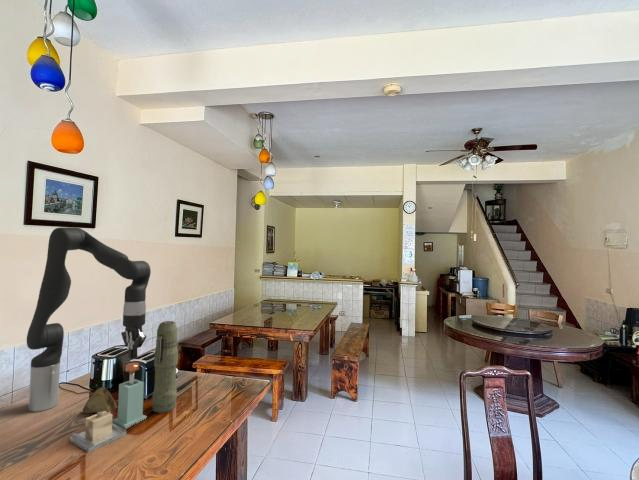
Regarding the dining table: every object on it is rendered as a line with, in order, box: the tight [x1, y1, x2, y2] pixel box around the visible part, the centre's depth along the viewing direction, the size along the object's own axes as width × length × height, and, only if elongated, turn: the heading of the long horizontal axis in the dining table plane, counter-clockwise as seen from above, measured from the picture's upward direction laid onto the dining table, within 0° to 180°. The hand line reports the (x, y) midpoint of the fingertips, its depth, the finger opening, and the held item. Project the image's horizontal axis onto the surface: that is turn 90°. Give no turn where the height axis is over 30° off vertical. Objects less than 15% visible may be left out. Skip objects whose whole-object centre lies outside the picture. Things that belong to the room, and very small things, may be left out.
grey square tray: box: [69, 422, 127, 453], centre depth 111 cm, size 12×12×2 cm
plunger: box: [125, 362, 140, 386], centre depth 123 cm, size 4×4×13 cm
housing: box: [85, 411, 113, 440], centre depth 112 cm, size 5×6×7 cm
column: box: [112, 378, 147, 429], centre depth 123 cm, size 8×8×14 cm
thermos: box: [151, 320, 179, 414], centre depth 134 cm, size 9×12×35 cm
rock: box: [82, 387, 118, 414], centre depth 130 cm, size 11×9×10 cm
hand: (132, 358), depth 124 cm, fingers closed
